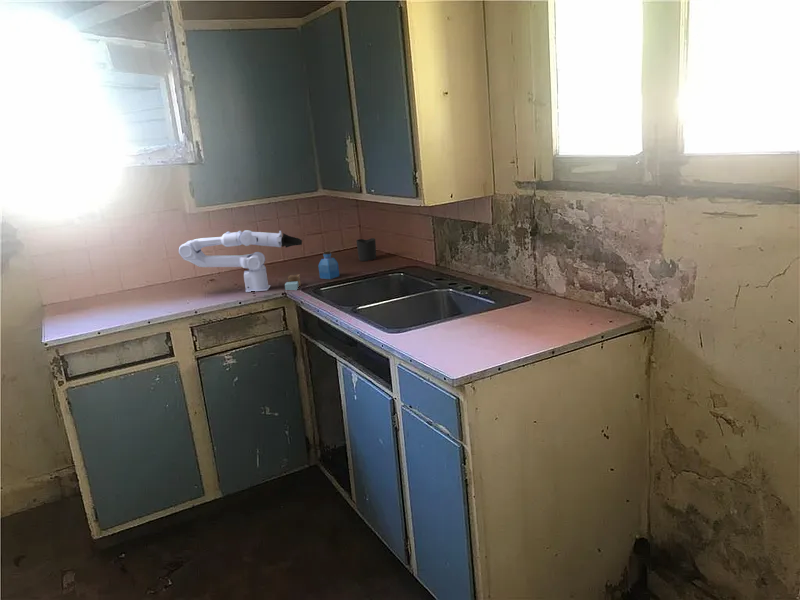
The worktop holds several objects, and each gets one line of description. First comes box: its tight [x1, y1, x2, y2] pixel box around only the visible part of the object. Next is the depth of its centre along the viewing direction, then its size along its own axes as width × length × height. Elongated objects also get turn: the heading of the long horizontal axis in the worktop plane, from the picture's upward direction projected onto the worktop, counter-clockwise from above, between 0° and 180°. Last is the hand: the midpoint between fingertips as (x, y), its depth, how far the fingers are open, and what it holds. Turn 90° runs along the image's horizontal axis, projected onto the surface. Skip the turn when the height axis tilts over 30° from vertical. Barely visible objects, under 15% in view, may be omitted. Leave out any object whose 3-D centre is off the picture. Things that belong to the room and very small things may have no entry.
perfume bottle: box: [318, 250, 340, 280], centre depth 293 cm, size 6×6×12 cm
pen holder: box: [356, 237, 377, 262], centre depth 325 cm, size 9×9×10 cm
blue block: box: [284, 281, 300, 291], centre depth 278 cm, size 5×5×3 cm
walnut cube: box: [287, 274, 302, 287], centre depth 283 cm, size 4×4×4 cm
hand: (300, 241), depth 278 cm, fingers open, 7 cm apart
